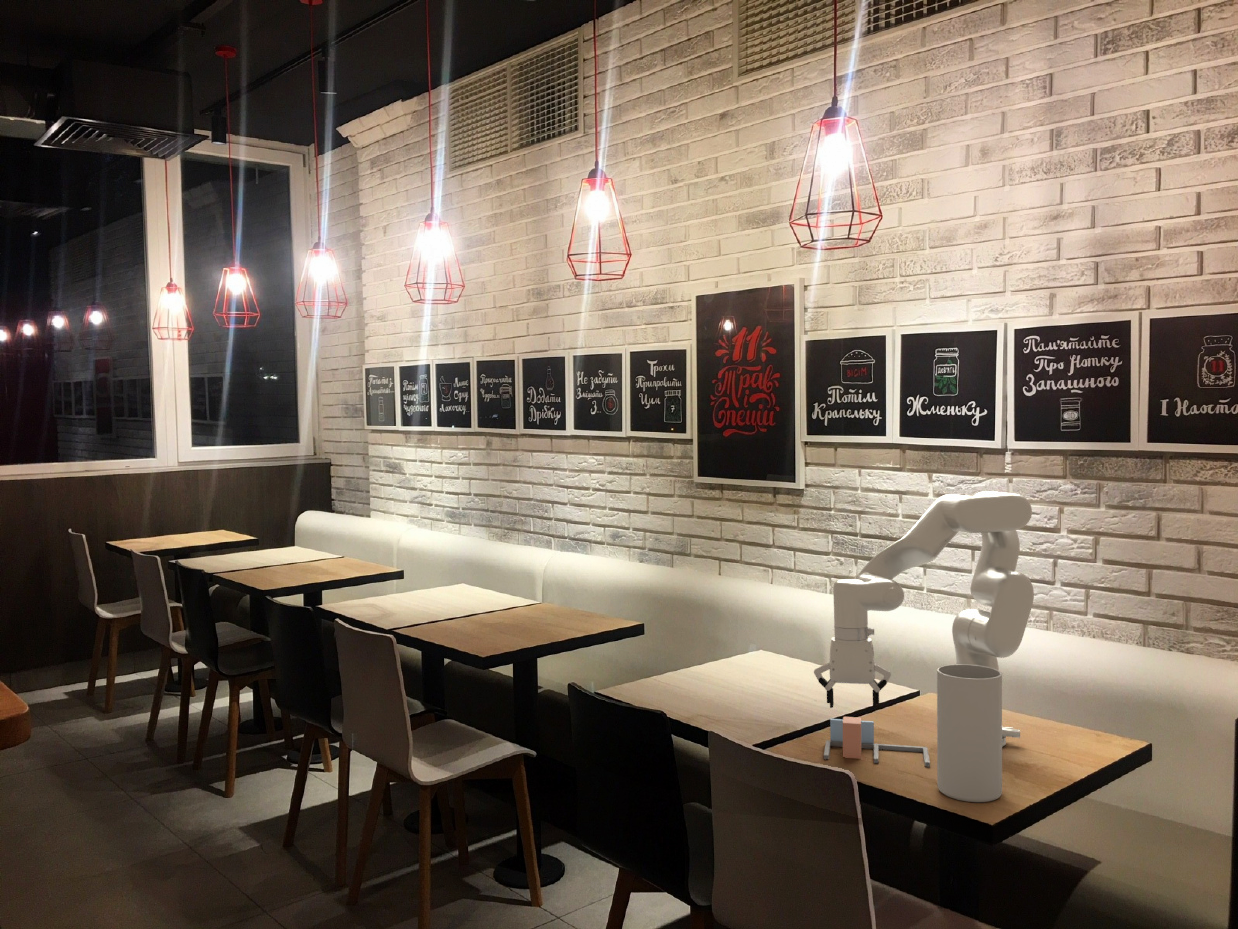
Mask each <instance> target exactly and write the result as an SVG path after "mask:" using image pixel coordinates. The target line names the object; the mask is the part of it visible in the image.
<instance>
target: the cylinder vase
mask: <svg viewBox="0 0 1238 929" xmlns="http://www.w3.org/2000/svg"><path fill="white" fill-rule="evenodd" d="M936 679H937V680H936V727H937V728H936V729H937V733H936V734H937V736H936V739H937V742H936V744H937V750H936V751H937V752H936V754H937V756H936V757H937V758H936V759H937V762H936V763H937V765H936V767H937V768H936V771H937V783H936V784H937V788H938V790H939V792H940V793H942V794H943V795H945V796H947V797H949V798H951V799H954V800H957V801H962V802H969V803H986V802H987V803H988V802H993V801H996V800H997V799H999V798H1000V797H1001V796H1002V794H1003V747H1002V727H1003V673H1002V672H1001V671H1000V670H999V671H998V670H996V669H993V668H989V667H985V666H978V665H966V664H955V663H954V664H945V665H942V666H939V667H938V668H936Z"/></svg>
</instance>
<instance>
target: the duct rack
mask: <svg viewBox="0 0 1238 929" xmlns="http://www.w3.org/2000/svg"><path fill="white" fill-rule="evenodd" d="M829 722H830V724H829V725H830V729H829V730H830V734H829V735H830V736H829V737H830V740H827V739H826V740H825V746H824V753H823V760H824V759H825V761H827V760H826V759H828V760H829V759H830V751H831V747H838V748H839V747H840V748H843V719H840V718H830V720H829ZM874 724H875V722H874V721H873V720H872V721H871V720H861V749H867V750H868V749H869V750H870V749H871V750H873V763H874V764H879V750H882V749H883V750H882V751H884V750H885V751H898V752H913V753H922V755H923V760H924V767H927V768H930V767H931V761H930V756H929V749H928V746H918V745H917V746H915V745H902V744H900V745H899V744H888V743H886V744H885V743H875V741H874V740H875V725H874Z"/></svg>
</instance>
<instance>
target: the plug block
mask: <svg viewBox="0 0 1238 929" xmlns="http://www.w3.org/2000/svg"><path fill="white" fill-rule="evenodd" d="M842 720H843V747H842V758H843V757H845V759H846V758H847V759H857V760H858V759H859V760H861V759H862V748H861V721H862V717H854V716H843V717H842Z"/></svg>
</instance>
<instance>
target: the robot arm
mask: <svg viewBox="0 0 1238 929" xmlns="http://www.w3.org/2000/svg"><path fill="white" fill-rule="evenodd" d="M1032 514H1033V508H1032V506H1031V503H1030V501H1029V500H1028V499H1027V498H1026V497H1025V496H1023V495H1021V494H1018V493H1013V492H1012V493H1011V492H1001V491H992V490H991V491H989V490H988V491H987V490H986V491H980V492H978V493H977V492H976V493H975V494H974V495H966V494H965V495H964V494H952V493H951V494H950V493H949V494H948V493H947V494H944V495H942V496H939V497H938V498H937V499H936V500H935V501H934V502H933V503H932V504H931V505H930V507H929V508H928V509H927V510H926V511H925V512H924V514H922V516H921V517H920V518H919V519H918V521H917V522H916V523H914V525H913V526H912V527H911V528H910V529H909V530H908V532H906V534H905V535H904V536H903V537H901V538H900V539H898V540H896V541H894V542H893V543H891V545H888V546H887V547H885V548H884V549H883V550H880V552H878V553H877V554H875V555H874V556H873V557H872V558H871V559H870V560H868V563H866V565H865V566H864V567H863V568H862V569H861V570H860V571H859V573H858V574H857V575H856V577H855V578H845V579H843V578H841V579H839V580H836V581H834V583H833V587H832V588H833V591H832V592H833V619H834V620H833V622H834V623H833V624H834V626H833V628H834V629H833V630H834V636H833V637H831V639H830V640H831V642H830V647H829V662H827V663H825V664H822V665H821V666H819V667H817V668H815V669H814V670H813V674H814V676H815V677H816V679H817V680H818V684H820V685H821V686H822V687H823V688H824V689H825V690H826V704H829V708H830V709H833V708H834V704H835V703H834V688H833V687H834V686H835V684H853V685H854V684H857V685H858V684H859V685H869V686H870V687H871V688H872V710H874V711H876V710H877V706H880V692H881V690H882V689H883V688H884V687H886V685H887V684H888V682H889V680H890V678H891V676H892V672H891V671H890V670H888V669H886V668H884V667H882V666H880V665H879V664H877V663H875V662H876V661H875V652H874V650H875V649H874V645H873V640H872V638H870V636H875V628H870V627H869V625H868V624H869V623H868V622H869V620H868V611H874V612H876V611H877V612H891V611H895V610H896V609H898V608H899V607H900V606H901V605H902V604H903V602H904V600H905V592H904V589H903V587H902V586H901V585H900V584H899V582H898V581H895V580H893V579H895V578H896V577H897V576H898V575H900V574H902V573H903V572H905V571H907V570H911V569H913V568H916V567H921V566H924V565H926V564H929V563H931V562H933V561H934V560H935V559H936V558H937V557H938V556H940V553H941V552H943V550H944V549H945V548H946V547H947V545H948V544H949V543H950V542H951V541H952V540H953V538H955V536H956V535H957V534H958V533H959V532H961V533H967V534H968V533H969V534H980V535H981V539H982V542H981V547H980V553H979V556H978V560H977V563H976V566H975V570H974V572H973V575H972V580H971V582H970V595H971V597H972V598H973V599H974V601H976V602H977V603H979V604H981V605H984V606H987V607H990V608H991V610H990V612H989V611H987V610H982V609H979V608H967V609H964V610H962V611H960V612H959V613H958V614H957V615H956V617H955V618H954V620H953V621H952V629H951V632H952V634H951V635H952V640H953V644H954V651H955V662H956V664H966V665H978V666H985V667H989V668H993V669H996V670H998V671H1000V670H999V663H998V658H999V659H1002V658H1003V659H1004V658H1008V657H1010V656H1012V655H1014V654H1015V653H1016V652H1017V650H1018V649H1019V647H1020V645H1021V643H1022V641H1023V637H1024V634H1025V631H1026V628H1027V626H1028V621H1029V618H1030V615H1031V612H1032V609H1033V605H1034V598H1035V590H1034V585H1033V583H1032V581H1031V579H1030V578H1029V577H1028V576H1027V575H1025V574H1024V573H1022V572H1020V571H1018V570H1016V568H1017V564H1018V559H1019V556H1020V550H1021V545H1020V544H1021V543H1020V538H1019V535H1018V532H1017V530H1020V529H1022V528H1024V527H1025V526H1027V525H1028V524H1029V522H1030V520H1031V519H1032ZM826 671H829V680H826V679H825V677H823V675H822V673H825V672H826ZM876 673H878V674H880V675H882V676H883V677H882V678H881V680H879V682H877V680H876V679H875V678H876ZM1007 737H1008V738H1014V739H1015V738H1017V739H1018V738H1019V739H1020V738H1021V730H1020V729H1018V728H1017V729H1016V728H1014V727H1013V726H1002V748H1003V747H1004V746H1005V745H1006V744H1007V743H1006V742H1007V739H1006V738H1007Z"/></svg>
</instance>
